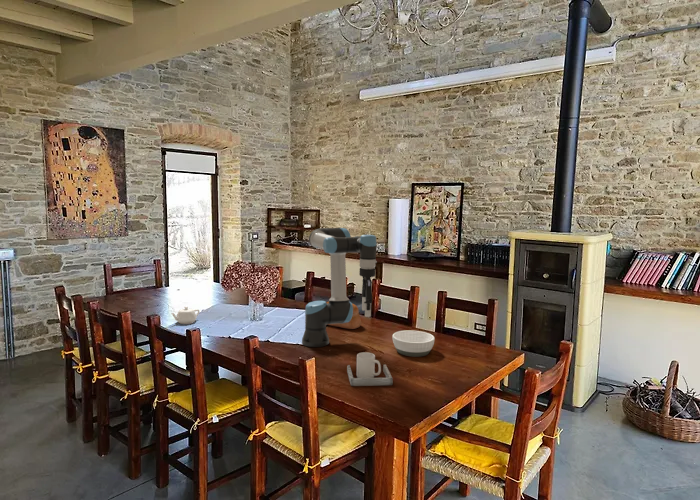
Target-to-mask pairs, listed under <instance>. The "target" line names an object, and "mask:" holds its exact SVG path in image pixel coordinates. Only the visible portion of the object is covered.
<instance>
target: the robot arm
mask: <svg viewBox="0 0 700 500" xmlns="http://www.w3.org/2000/svg"><path fill="white" fill-rule="evenodd" d="M308 243H309V244H310V245H311V246H312V247H313V248H315V249H323V251H324V253H326V254H329V256H330V258H329V259H330V294H331V296H330V298H329V299H328V302H329V303H327V301H326V300H314V301H310V302H308V303H307V304H306V305H305V310H304V311H305V312H304V315H305V317H304V320H305V321H304V323H305V324H304V327H305V328H304V329H305V330H304V332H303V335H302V339H301V344H302V345H303V346H305V347H309V348H321V347H325V346H328V345H329V344H330V338H329V335H328V331H327V325H326V324H337V323H347V322H349V321H350V320H351V318H352V315H353V305H352V304H353V303H352V302H351V301H350V299H349V298H348V295H347V273H346V272H347V269H346V267H347V266H346V254H350V253H351V254H353V253H359V272H358V273H359V276H360V277H362V286H361V287H362V289H361V298H362V299H361V300H362V301H361V311H364V317H366V318H369V317H372V303H373V291H372V290H373V287H372V285H373V281H372V277H373V278H374V277H376V266H377V265H376V264H377V263H378V261H377V260H376V258H377V244H378V243H377V236H376V235H374V234H361V235H359V236H358V235H357V236H351V233H350V231H349V229H347V228H345V227H320V228H316V229H314V230H312V232H311V233H310V234H309V236H308Z"/></svg>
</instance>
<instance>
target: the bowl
mask: <svg viewBox="0 0 700 500" xmlns="http://www.w3.org/2000/svg"><path fill="white" fill-rule="evenodd" d="M392 342H393V345H394V348H395V350H396V351H397V353H399V354H400V355H403V356H406V357H414V358H415V357H416V358H417V357H425V356H427V355H429V353H430V352H431V350H432V349H433V347H434V344H435V336H434V335H433V334H431V333H429V332H426V331H421V330H420V331H419V330H413V329H412V330H410V329H409V330H398V331H396V332H394V333H393V334H392Z"/></svg>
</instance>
